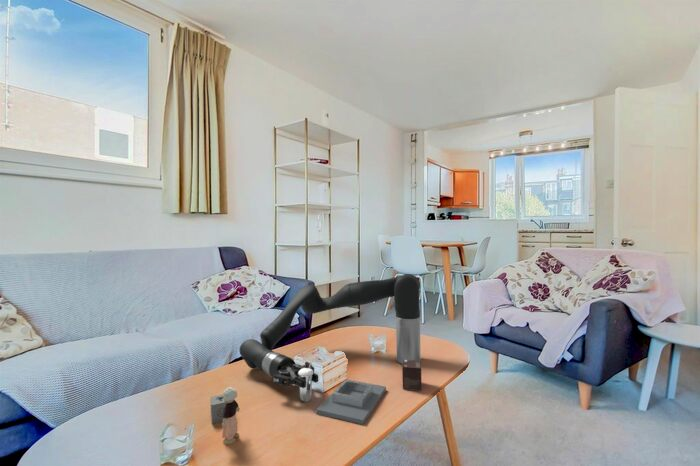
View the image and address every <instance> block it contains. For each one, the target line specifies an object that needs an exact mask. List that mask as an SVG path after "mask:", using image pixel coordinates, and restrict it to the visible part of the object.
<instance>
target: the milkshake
mask: <svg viewBox="0 0 700 466" xmlns="http://www.w3.org/2000/svg"><path fill="white" fill-rule="evenodd" d="M309 363H310V364H309V368H302V369H301V370H300V371H299V372H298V376H299V378H302V379H304V380H305V381H306V387H305V388H302V387H299V386H298V387H299V389H298V390H299V400H300V401H301V402H303V403H305V402H306V403H307V402H309V401H311V400H312V389H313V388H312V387H313V373H315V371H314V372H313V370H312V369H310V366H311V365H312V362H309Z"/></svg>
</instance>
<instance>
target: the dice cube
mask: <svg viewBox="0 0 700 466" xmlns="http://www.w3.org/2000/svg"><path fill="white" fill-rule="evenodd" d="M226 404H227V403H226V402H225V401H224V398H223V393H222V394H218V395H213V396H210V418H211V424H216V423H221V422H223V415H224V408H225V406H226Z"/></svg>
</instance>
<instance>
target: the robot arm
mask: <svg viewBox="0 0 700 466" xmlns="http://www.w3.org/2000/svg"><path fill="white" fill-rule="evenodd" d="M420 290H421V281H420V279H419V278H418V277H417V276H415V275H414V274H410V273H404V274H401V275H399V276H394V277H391V278H388V279H378V280H376V279H375V280H364V281H357V282H350V283H348V284H345V285H344V286H342V287H341V288H340V289H339V290H338V291H337V292H336V293H335V294H333V295H331V296H326V297H321V295H320V292H319V290H318V288H317V287H316V285H314V284H307V285H304V286H302V287H301V288H300V289H299V290H298V291H297V292H296V293H295V294H294V296H293V297H292V298H291V299H290V301H289V302H288V304H287V305H286V306H285V307H284V308H283V310H282V311H281V312H280V313H279V314H278V316H277V317H276V318H275V319H274V320H273V321H271V323H269V325H267V326H266V328H264V329H263V331H261V333H260V340H261V341H258V340H256V339H253V338H252V339H247V340H245V341H243V342H242V343H241V345H240V347H239V355H240V356H241V357H242V359H243V361H244V362H245V364H246V365H247V366H248V368H250V369H258V370H260V371H262V372H264V373H265V374H267V376H270V377H272V378H273V384H274V385H279V386H284V387H286V388H287V387H288V388H290V387H291V385H292V386H297V387H302V388H305V387H306V381H305V380H304V379H302V378H299V376H298V372H299V371H300V370H301V369H302V368H309V364H310V362H309V361H308V362H307V361H306V362H305V363H304V364H303V365H301V364H299V363H296V362H295V361H294V359H293V358H292V357H289V356H287V355H285V354H282V353H281V352H275V351H273V348H274V347H275V346H276V345H277V343H279V341H281V340H282V338H283V337H284V336H285V335H286V334H287V333H288V331H289V329H290V328H291V326H292V323H293V320H294V318H295V315H296V314H297V312H298V311H299V309H300V307H301V309H302V311H303V312H304V313H305V314H309V315H312V314H317V313H322V312H325V311H330V310H334V309H340V308H346V307H355V306H362V305H367V304H372V303H374V302H375V303H376V302H377V301H381V300H383V299H386V298H387V299H388V298H394V311H395V330H396V331H395V338H396V339H395V341H396V344H395V345H396V347H395V348H396V354H395V355H396V356H395V357H396V362H398V363H399V364H401V365H403V360H413V361H421V310H420ZM421 362H422V361H421ZM310 369H312V370H313V372H314V373H313V381H312V383H318V382H319V375H318V374H317V373H315V367H314V366H313V365H312V364H311V366H310Z"/></svg>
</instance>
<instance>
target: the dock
mask: <svg viewBox="0 0 700 466" xmlns="http://www.w3.org/2000/svg"><path fill="white" fill-rule="evenodd" d="M386 390H387V386H385V385H379V384H373V383H367V382H362V381H356V380H352V379H344V380H343V381H342V382H341V383H340V384H339V385H338V387H336V388H335V390H333V391H332V392H331V393H330V395H329V396H328V397H327V398H326V399H325V400H323V402H322V403H320V405H319V406H318V407H317V408H316V411H315V413H316V415H320V416H325V417H328V418H334V419H337V420H342V421H346V422H349V423H350V422H351V423H353V424H357V425H358V424H359V425H363V426H364V424H365V423H366V421H367V420H368V418H369V416H370V415H371V413H372V412H373V411H374V410H375V408H376V406H377V404H378V403H379V401H380V400H381V399H382V397H383V396H384V395H385V392H386Z"/></svg>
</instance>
